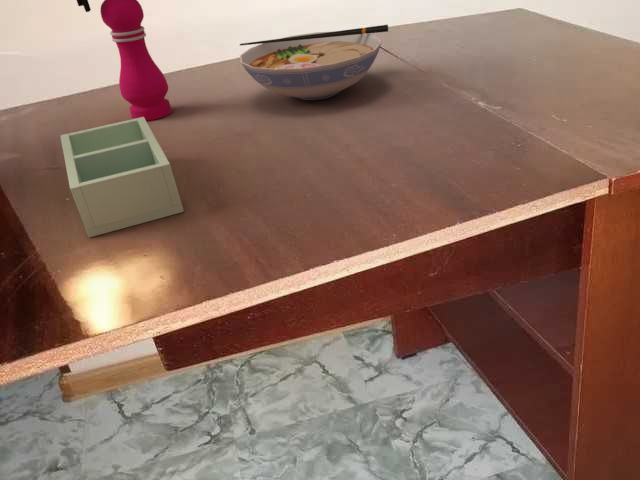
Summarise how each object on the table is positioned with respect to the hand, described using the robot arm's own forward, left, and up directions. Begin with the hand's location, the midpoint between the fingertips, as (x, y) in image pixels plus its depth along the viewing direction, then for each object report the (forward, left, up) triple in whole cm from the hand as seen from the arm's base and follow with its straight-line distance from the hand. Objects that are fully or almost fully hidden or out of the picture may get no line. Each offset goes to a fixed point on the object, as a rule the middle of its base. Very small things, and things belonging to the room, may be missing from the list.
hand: (121, 4), depth 105 cm
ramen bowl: (+21, +17, -17) cm, 32 cm away
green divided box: (+22, -23, -17) cm, 36 cm away
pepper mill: (0, 0, -17) cm, 17 cm away
